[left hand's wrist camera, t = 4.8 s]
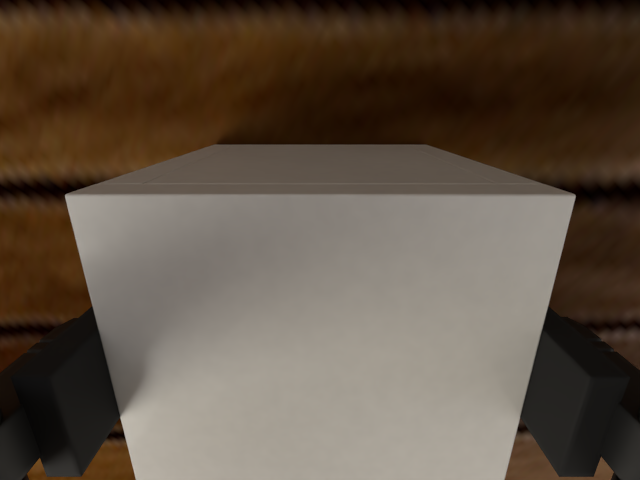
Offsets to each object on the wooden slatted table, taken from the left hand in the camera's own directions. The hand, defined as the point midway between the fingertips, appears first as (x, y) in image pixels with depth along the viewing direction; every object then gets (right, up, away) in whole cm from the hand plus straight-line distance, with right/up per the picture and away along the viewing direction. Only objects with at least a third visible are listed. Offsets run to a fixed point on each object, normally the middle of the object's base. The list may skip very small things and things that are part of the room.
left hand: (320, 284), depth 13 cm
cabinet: (0, -3, +8) cm, 8 cm away
